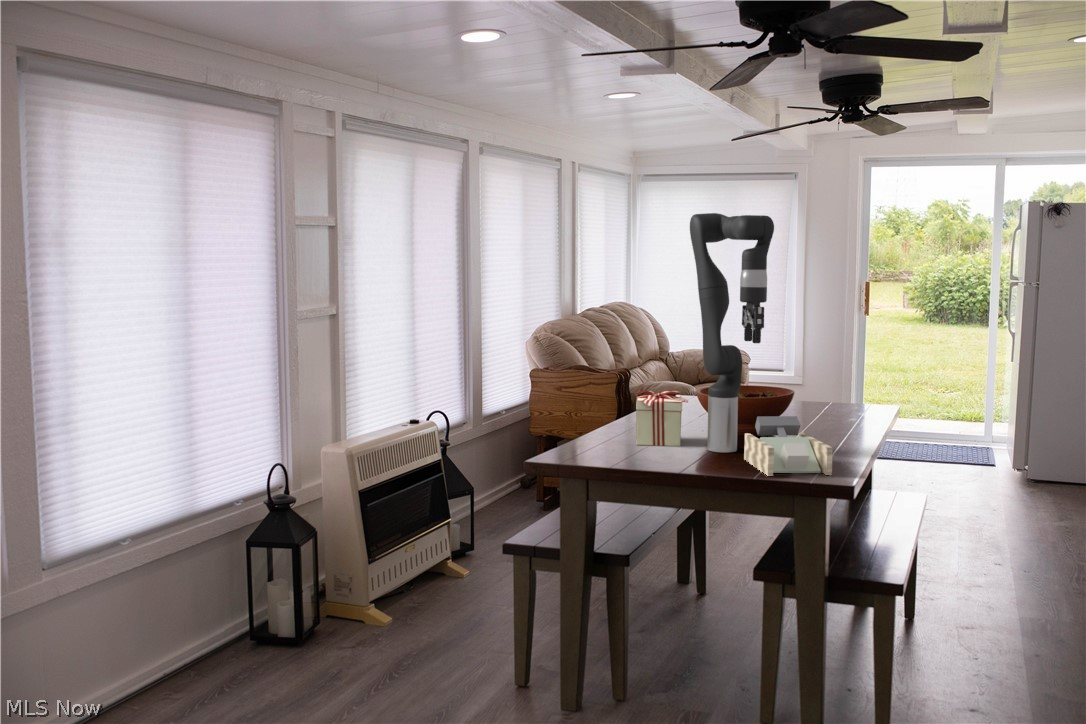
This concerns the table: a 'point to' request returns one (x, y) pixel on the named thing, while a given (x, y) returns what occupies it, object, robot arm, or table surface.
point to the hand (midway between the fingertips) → (752, 342)
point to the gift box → (658, 418)
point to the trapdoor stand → (764, 454)
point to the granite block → (794, 455)
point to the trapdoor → (784, 440)
